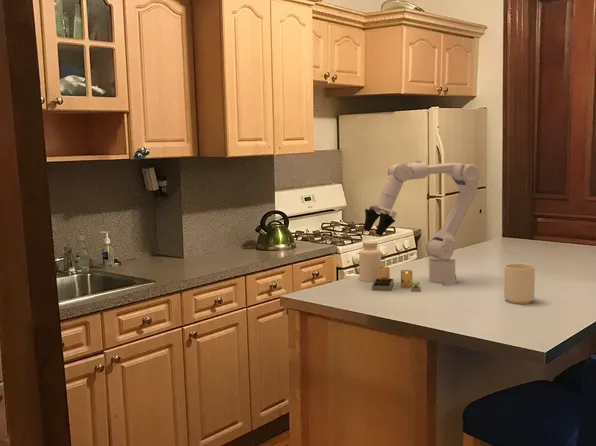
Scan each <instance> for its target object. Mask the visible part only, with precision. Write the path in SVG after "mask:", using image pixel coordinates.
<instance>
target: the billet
mask: <svg viewBox="0 0 596 446" xmlns="http://www.w3.org/2000/svg"><path fill="white" fill-rule="evenodd" d="M412 282H413V270H411V269H401V270H400V283H401V284H400V288H411V287H413V285H412Z"/></svg>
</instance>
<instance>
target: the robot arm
mask: <svg viewBox="0 0 596 446" xmlns="http://www.w3.org/2000/svg"><path fill="white" fill-rule="evenodd" d="M436 174H439V175H440V174H446V175H448V176H450V177H451V179H452V181H454V183H455V185H456V186H457V187H458V190H459V194H458V195H457V197H456V199H455V201H454V203H453V205H452V207H451V209H450V211H449V212H448V214H447V216H446V218H445V220H444V222H443V224H442V226H441V228H440V230H439V231H437V232H436V233H434V234H433V236H432V238H431V239H429V240H428V241H427V242H426V245H425V251H426V254H428V258H429V259H428V277H429V278H428V280H429V281H428V282H431V283H434V284H441V285H442V286H456V280H457V275H456V259H455V258H454V259H452V258H451V257H452V256H453V255H454V249H455V245H456V240H455V236H456V234H457V232H458V230H459V228H460V227H461V226H462V225H461V224H462V223H463V221H464V218H465V217H466V214H467V213H468V211H469V209H470V208H471V205H472V204H473V202H474V200H475V198H476V196H477V194H478V185H479V184H478V182H479V180H480V177H481V174H480V171H479V168H478V166H476V164H473V163H467V164H466V163H457V162H445V163H444V162H443V163H435V164H427V163H426V162H425V161H422V160H415V162H407V161H403V163H402V164H401V163H394V164H392V165H391V166H390V167H388V169H387V179H386V180H385V181H384V182H385V183H384V185H383V187H382V189H381V192H380V194H379V195H378V199H377V200H376V203H373V204H372V203H369V204H368V207H367V208H365V210H364V213H365V218H364V219H365V220H364V226H363V230H364V231H367V232H370V231H371V229H372V228H373V225H375V223H376V221H377V220H379V221H378V225H377V227H376V230H375V235H377V236H379V237H382V236H383V234H384V233H385V232H386V230H387V229H388V228H389V227H390V226H391V225H392V224H394V223H395V222H396V219H395V218H396V216H397V215H398V212H396V211H394V210H393V207H394V205H395V203H396V200H397V199H398V196H399V194H400V192H401V189H402V187H403V185H404V182H407V181H408V180H409V181H411V180H422V179H426V178H427V177H428V176H429V175H436ZM378 218H379V219H378Z"/></svg>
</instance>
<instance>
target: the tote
mask: <svg viewBox="0 0 596 446" xmlns="http://www.w3.org/2000/svg"><path fill="white" fill-rule="evenodd" d="M398 285H401V282H395V283H394V286H393V289H394V290H411V288H403V287H398ZM418 287H420V285H418Z"/></svg>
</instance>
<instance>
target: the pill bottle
mask: <svg viewBox="0 0 596 446" xmlns="http://www.w3.org/2000/svg"><path fill="white" fill-rule="evenodd" d="M358 256H359V257H358V259H359V261H358V264H359V266H358V267H359V269H358V270H359V273H358V274H359V277H358V279H359V281H361V282H365V283H366V282H367V283H374V282H375V280H376V278H378V267H382V251H381V250H380V249H378V241H375V240H365V241H363V242H362V249H360V251H359V255H358Z"/></svg>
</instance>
